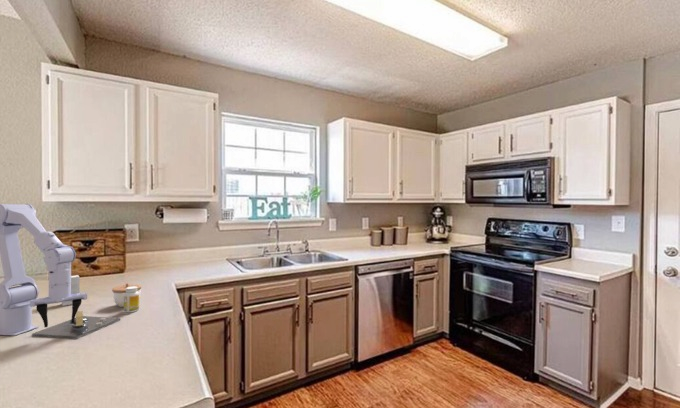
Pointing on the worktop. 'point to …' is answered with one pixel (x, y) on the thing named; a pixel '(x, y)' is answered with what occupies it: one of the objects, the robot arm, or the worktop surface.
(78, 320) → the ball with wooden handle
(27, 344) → the worktop surface
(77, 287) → the skincare box
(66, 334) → the base plate
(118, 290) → the lidded jar
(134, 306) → the supplement bottle
